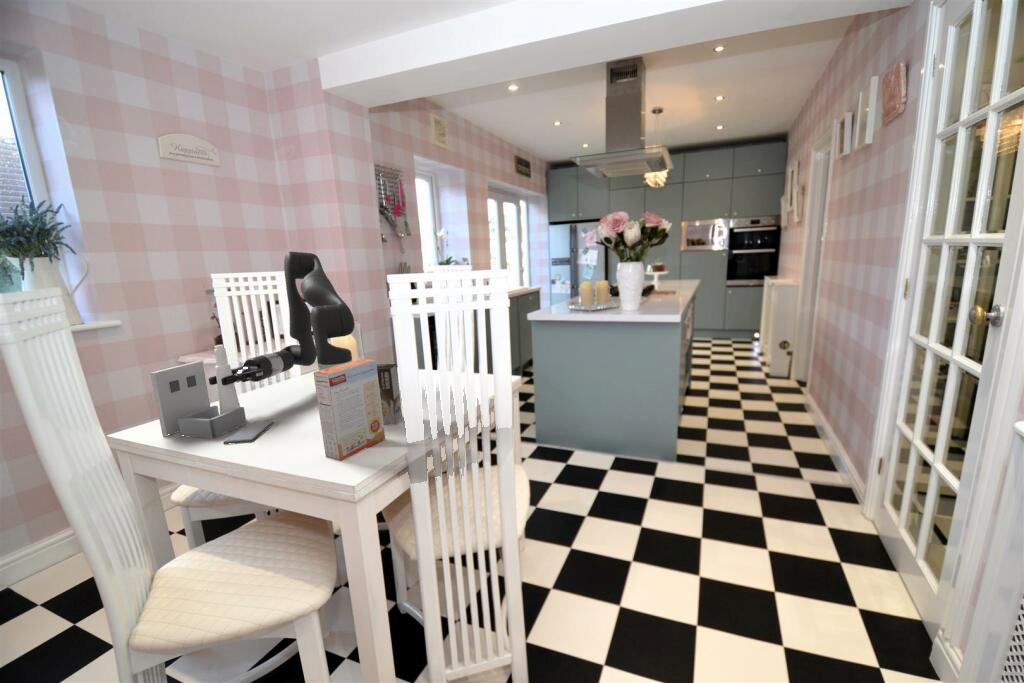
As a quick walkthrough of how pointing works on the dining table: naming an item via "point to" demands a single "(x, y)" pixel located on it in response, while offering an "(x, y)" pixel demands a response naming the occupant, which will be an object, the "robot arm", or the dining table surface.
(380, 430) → the cracker box
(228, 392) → the cosmetic bottle
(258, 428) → the phone
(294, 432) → the dining table surface
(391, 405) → the coffee box
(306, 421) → the dining table surface
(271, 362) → the robot arm
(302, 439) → the dining table surface
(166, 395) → the outlet dock
